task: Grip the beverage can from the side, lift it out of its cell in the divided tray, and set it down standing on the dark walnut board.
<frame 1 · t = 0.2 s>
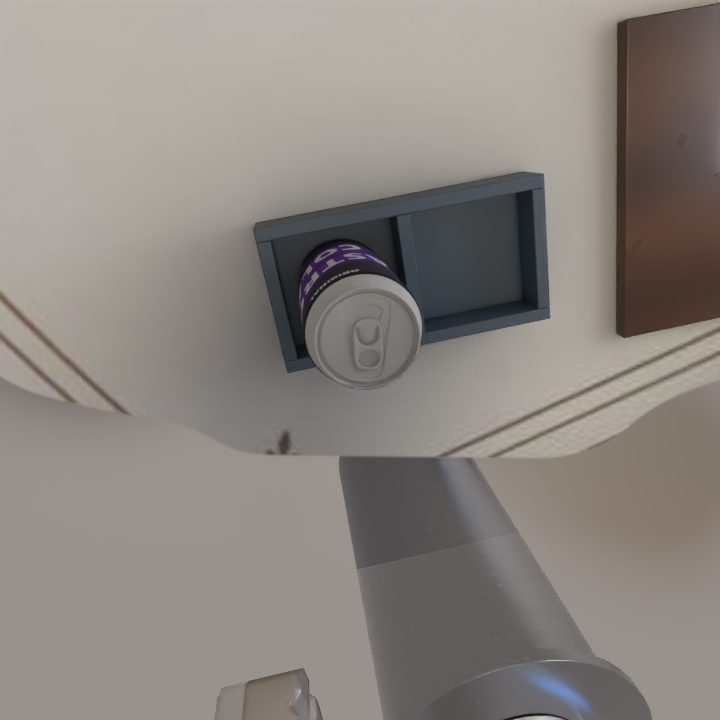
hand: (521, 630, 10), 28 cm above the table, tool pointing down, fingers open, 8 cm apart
walnut board: (715, 174, 37), on the table
beverage can: (340, 280, 36), resting on divided tray
divided tray: (401, 267, 37), on the table
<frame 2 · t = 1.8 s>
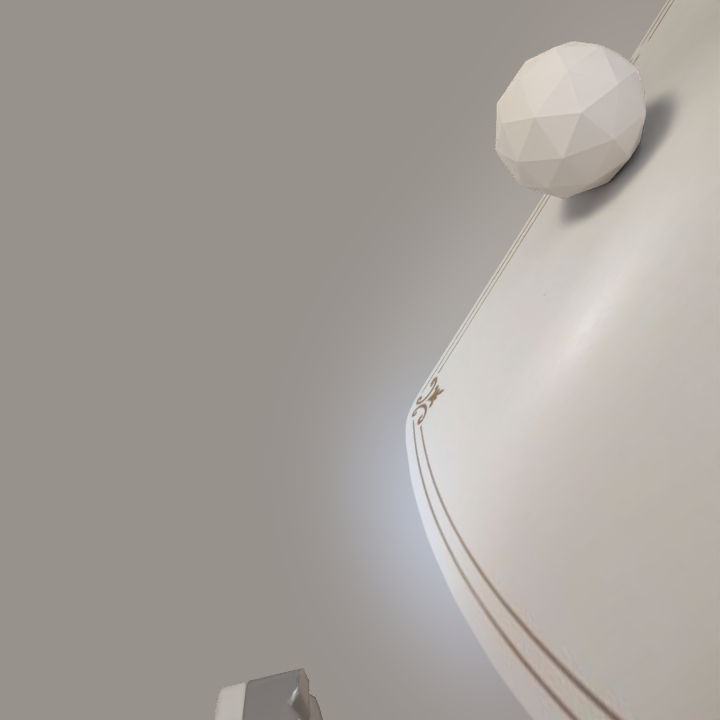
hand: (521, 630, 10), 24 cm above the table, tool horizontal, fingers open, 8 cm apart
ball: (619, 163, 78), on the table
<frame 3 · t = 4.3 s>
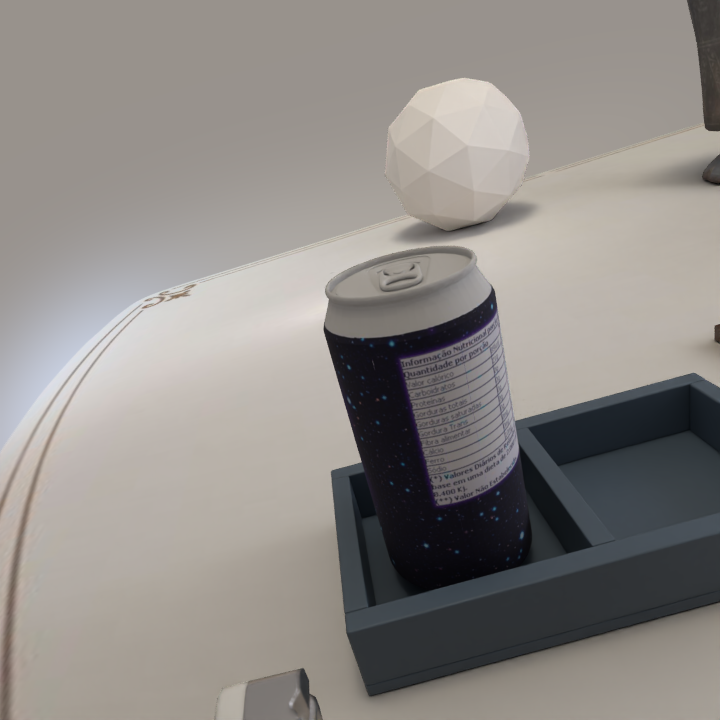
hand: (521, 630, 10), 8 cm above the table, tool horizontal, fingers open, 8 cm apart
ball: (467, 225, 80), on the table
beverage can: (462, 557, 22), resting on divided tray
divided tray: (562, 536, 23), on the table
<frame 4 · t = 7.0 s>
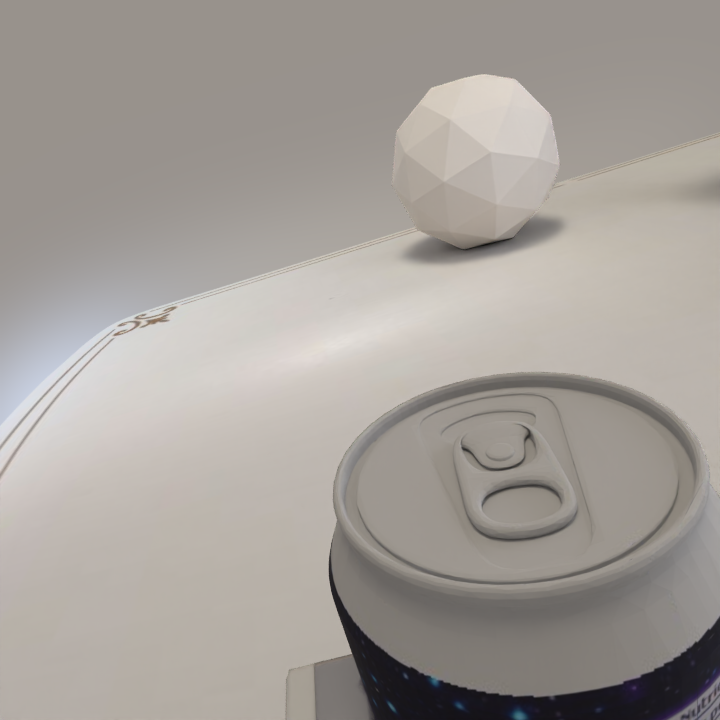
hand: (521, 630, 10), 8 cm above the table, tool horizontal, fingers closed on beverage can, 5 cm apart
ball: (484, 242, 70), on the table
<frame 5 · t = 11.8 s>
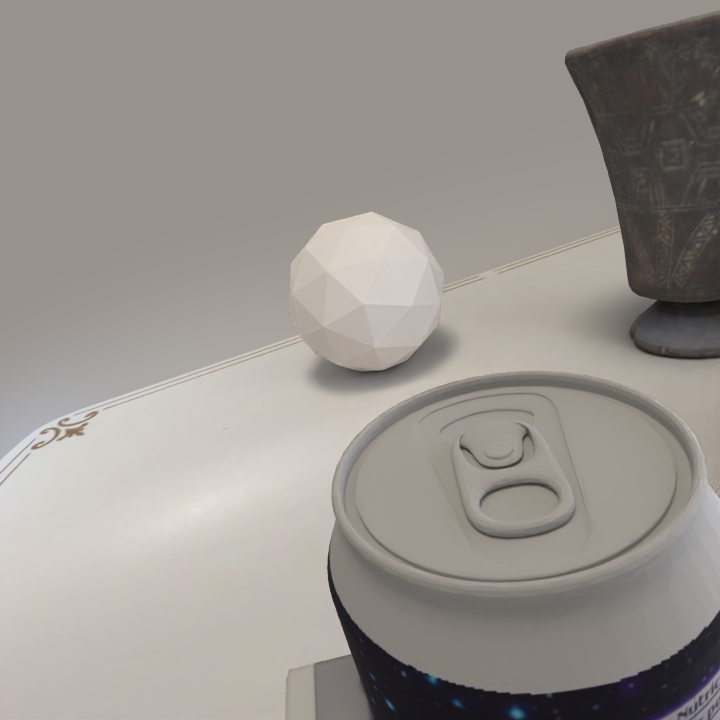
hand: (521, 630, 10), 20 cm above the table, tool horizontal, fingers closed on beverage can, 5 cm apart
vase: (701, 334, 59), on the table
ball: (382, 362, 73), on the table
when the fingers open (8 cm above the table, at t = 16.4 s): beverage can stays where it is, resting on walnut board.
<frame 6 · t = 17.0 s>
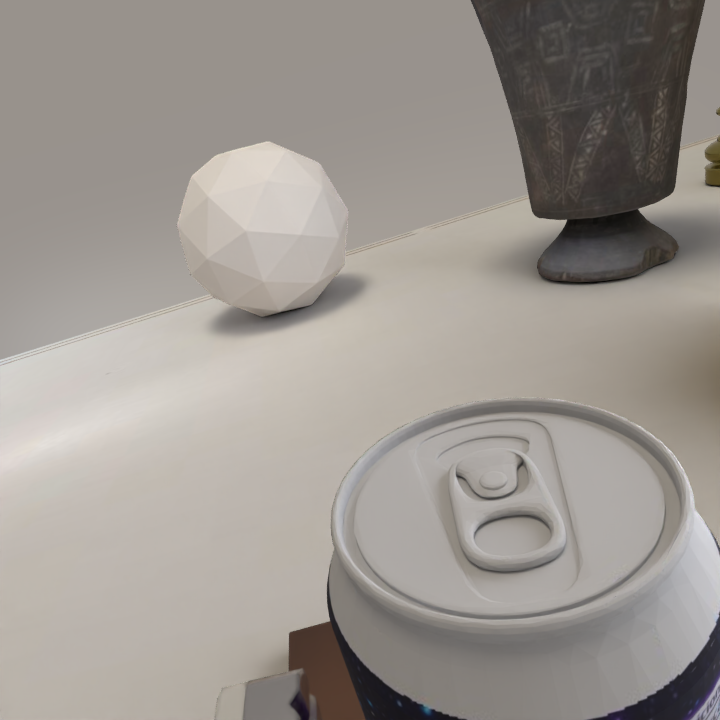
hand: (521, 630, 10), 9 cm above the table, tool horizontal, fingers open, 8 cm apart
vase: (610, 263, 55), on the table
ball: (288, 308, 68), on the table
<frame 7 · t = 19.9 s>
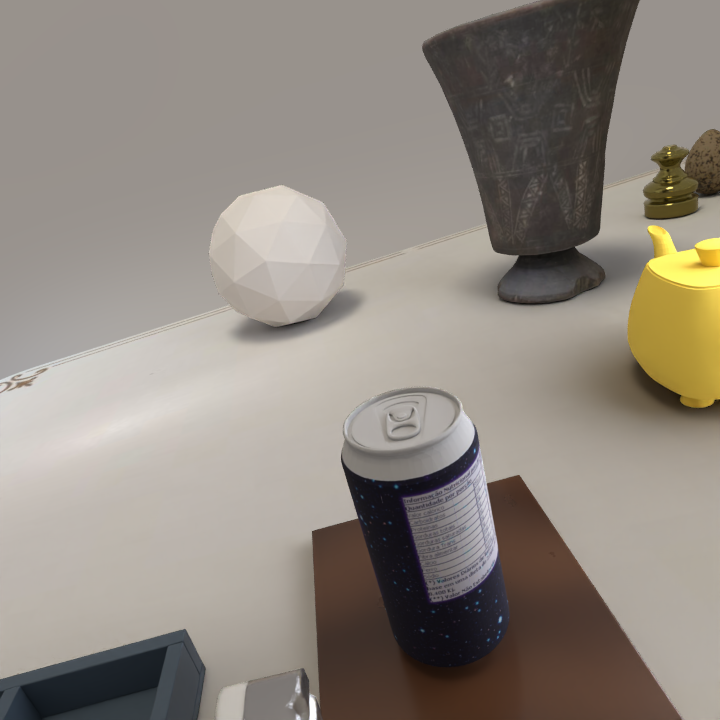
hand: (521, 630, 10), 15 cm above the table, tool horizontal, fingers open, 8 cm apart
walnut board: (461, 641, 27), on the table
vase: (553, 287, 69), on the table
ball: (297, 319, 83), on the table
gold tiered tapered piece: (670, 214, 86), on the table
beverage can: (452, 629, 27), point 1 cm above the table, touching walnut board
decorative egg: (710, 194, 91), on the table
teapot: (709, 376, 43), on the table
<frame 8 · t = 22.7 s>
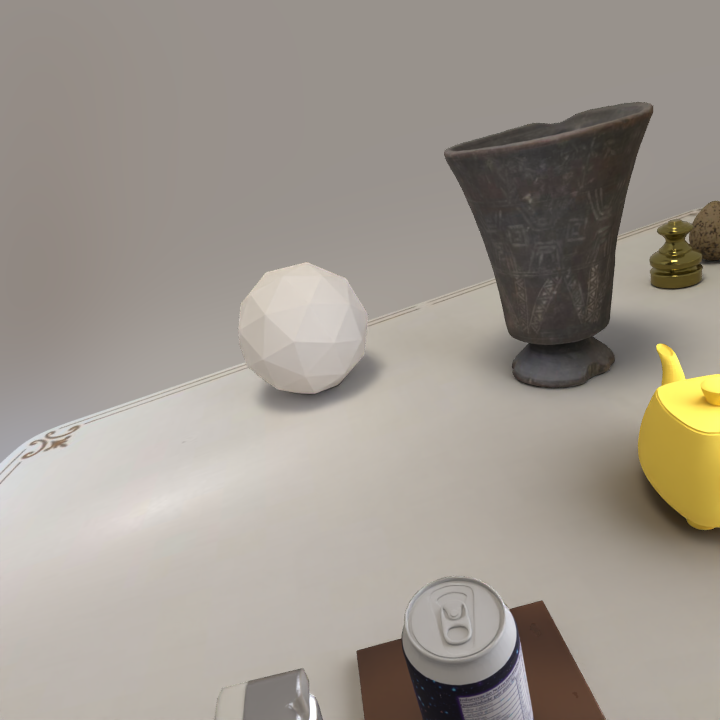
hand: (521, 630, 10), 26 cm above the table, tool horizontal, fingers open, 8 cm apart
vase: (565, 367, 73), on the table
ball: (319, 385, 87), on the table
gold tiered tapered piece: (675, 282, 90), on the table
decorative egg: (713, 260, 95), on the table
teapot: (713, 492, 47), on the table
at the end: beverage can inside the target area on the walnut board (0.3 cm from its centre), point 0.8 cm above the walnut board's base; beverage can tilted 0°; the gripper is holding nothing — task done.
